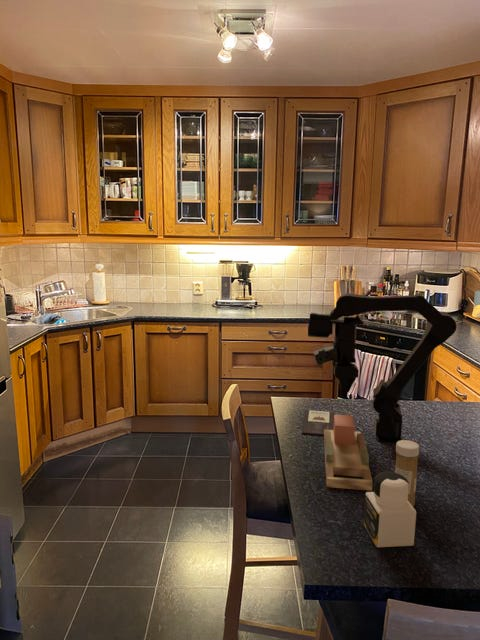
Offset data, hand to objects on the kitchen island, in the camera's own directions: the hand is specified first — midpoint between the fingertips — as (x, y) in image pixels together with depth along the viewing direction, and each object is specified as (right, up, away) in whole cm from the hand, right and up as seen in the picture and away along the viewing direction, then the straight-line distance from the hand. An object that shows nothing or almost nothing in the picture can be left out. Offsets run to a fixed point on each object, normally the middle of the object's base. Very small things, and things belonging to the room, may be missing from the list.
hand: (342, 392), depth 135 cm
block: (-1, -11, -6) cm, 13 cm away
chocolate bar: (-5, -11, +9) cm, 15 cm away
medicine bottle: (-1, -20, -45) cm, 49 cm away
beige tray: (-3, -15, -15) cm, 21 cm away
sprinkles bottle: (+6, -19, -34) cm, 39 cm away
